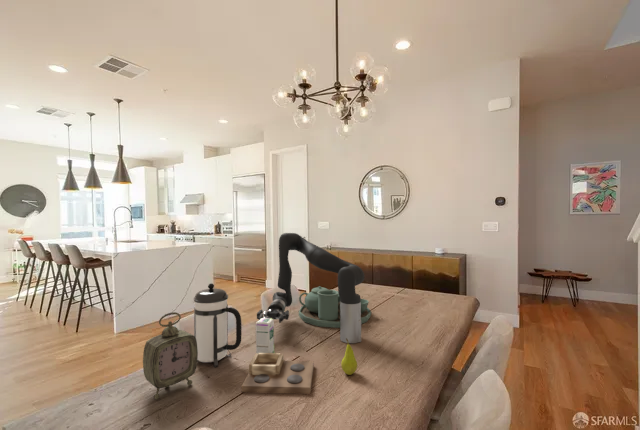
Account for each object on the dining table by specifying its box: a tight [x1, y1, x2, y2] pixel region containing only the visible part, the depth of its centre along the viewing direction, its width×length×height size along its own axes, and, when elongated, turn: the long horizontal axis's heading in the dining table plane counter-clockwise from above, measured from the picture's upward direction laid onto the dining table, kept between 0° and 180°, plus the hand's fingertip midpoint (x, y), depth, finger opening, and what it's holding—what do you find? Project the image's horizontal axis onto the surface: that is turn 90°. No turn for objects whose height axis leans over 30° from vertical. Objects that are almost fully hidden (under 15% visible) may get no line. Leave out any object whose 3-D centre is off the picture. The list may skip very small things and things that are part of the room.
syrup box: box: [255, 318, 276, 354], centre depth 128 cm, size 6×6×14 cm
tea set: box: [298, 285, 372, 329], centre depth 179 cm, size 40×40×16 cm
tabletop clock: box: [142, 311, 198, 400], centre depth 104 cm, size 14×9×25 cm, turn 139°
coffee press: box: [192, 282, 243, 368], centre depth 125 cm, size 17×16×30 cm
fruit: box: [340, 338, 358, 376], centre depth 114 cm, size 6×6×12 cm
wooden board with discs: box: [241, 352, 315, 395], centre depth 111 cm, size 22×18×5 cm
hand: (270, 320), depth 140 cm, fingers open, 8 cm apart
